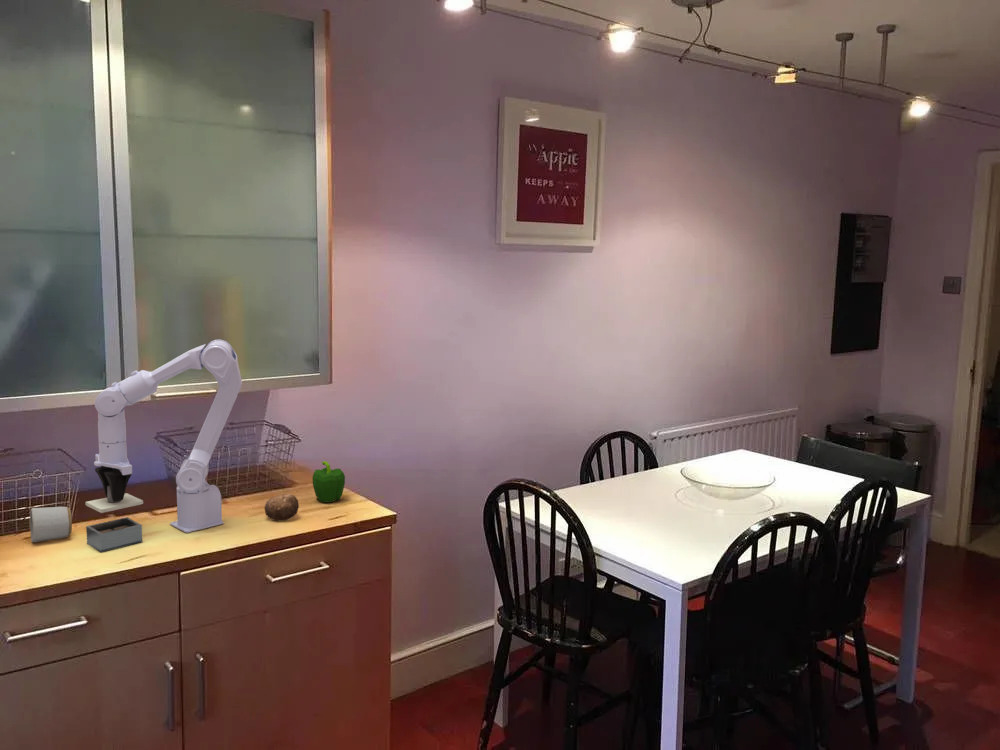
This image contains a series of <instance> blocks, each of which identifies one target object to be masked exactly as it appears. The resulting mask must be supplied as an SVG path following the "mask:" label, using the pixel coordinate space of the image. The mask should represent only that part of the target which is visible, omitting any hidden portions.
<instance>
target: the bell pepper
mask: <svg viewBox="0 0 1000 750" xmlns="http://www.w3.org/2000/svg"><path fill="white" fill-rule="evenodd" d="M321 464H322V466H325V467H322V468H321V469H314V473H313V475H312V487H313V491H314V494H315V496H316V498H317V500H318V501H319V502H321V503H331V502H334V501H338V500H340V499H341V498H342V497H343V492H344V490H345V489H344V488H345V483H346V476H345V473H344V471H342V469H341V468H335V469H331V465H330V463H329V462H328V461H322V462H321Z"/></svg>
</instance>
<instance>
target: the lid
mask: <svg viewBox="0 0 1000 750" xmlns="http://www.w3.org/2000/svg"><path fill="white" fill-rule="evenodd" d="M107 496H108V498H107V497H103V498H99V499H93V500H89V501H85V506H86V507H88V508H90V509H93V510H94V511H96V512H99V513H101V514H103V513H108V512H109V513H110V512H112V511H116V510H122V509H126V508H130V507H135V506H140V505H143V504H144V499H141V498H139V497H136V496H134V495H131V494H130V493H126V492H125V494H124V498H123V500H120V501H115V502H114V501H113V500H112V496H111V490H110V485H109V486H107Z"/></svg>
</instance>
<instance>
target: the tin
mask: <svg viewBox="0 0 1000 750" xmlns="http://www.w3.org/2000/svg"><path fill="white" fill-rule="evenodd" d="M85 527H86V528H85V529H86V531H85V532H86V544H87V545H88V546H89V547H91V548H93V549H94V550H96V551H98V552H99V553H104V552H109V551H113V550H115V549H116V550H117V549H121V548H125V547H128V546H133V545H137V544H141V543H143V525H142V524H141V523H139V522H137V521H135V520H134V519H132V518H129V517H128V516H127V517H123V518H118V519H114V520H110V521H109V520H108V521H104V522H100V523H95V524H90V525H86V526H85Z"/></svg>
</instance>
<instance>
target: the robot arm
mask: <svg viewBox="0 0 1000 750" xmlns="http://www.w3.org/2000/svg"><path fill="white" fill-rule="evenodd" d="M205 346H206V347H205ZM204 367H205V369H206V370H207V371H208V372H209V373H210V374H212V375H213V377H214V379H215V381H216V382H217V385H218V386H219V388H218V390H217V392H216V394H215V397H214V400H213V401H212V404H211V406H210V408H209V410H208V413H207V416H206V418H205V419H204V422H203V425H202V427H201V429H200V431H199V434H198V436H197V439H196V441H195V443H194V446H193V448H192V450H191V452H190V455H189V456H188V457H187V458H185V459H184V460H183V462H182V463H181V465H180V469H179V470H178V471H177V473H176V476H175V483H176V505H177V506H176V512H177V513H176V515H177V516H176V517H177V518H176V519H177V520H175V521H171V522H169V525H170V526H172V527H174V528H176V529H177V530H180V531H182V532H183V533H185V534H188V533H191V532H196V531H199V530H203V529H208V528H212V527H215V526H219V525H223V524H224V521H223V516H222V515H223V514H222V513H223V511H222V508H223V507H222V494H221V492H220V489H219V488H218V486H217V485H215V484H209V483H208V482H207V480H206V478H207V476H208V475H209V471H210V468H209V462H210V460H211V458H212V455H213V453H214V451H215V448H216V447H217V444H218V441H219V439H220V437H221V434H222V432H223V429H224V427H225V425H226V423H227V421H228V418H229V416H230V414H231V412H232V409H233V406H234V405H235V402H236V400H237V397H238V396H239V392H240V391H241V389H242V386H243V385H242V384H243V381H242V375H241V371H240V365H239V360H238V355H237V353H236V351H235V350H234V348H233V346H232V345H231V344H230V343H229V342H228V341H226V340H223V339H214V340H212V341H210V342H209V343H208V344H207V343H204V344H201V345H199V346H197V347H194V348H192V349H190V350H187V351H186V352H184V353H182V354H181V355H179V356H177V357H175V358H173V359H171V360H170V361H168V362H166V363H165V364H163V365H161V366H160V367H157V368H156V369H154V370H152V371H150V370H144V369H141V370H140V371H138V370H134V371H131V372H130V376H129V377H127V378H125V379H123V380H120V381H119V382H117V381H115V382H112V384H111V386H110V387H107V388H104V390H102V391H101V392H100V393H99V394H98V395H97V396H96V397H95V399H94V407H95V410H96V411H97V419H98V421H97V435H98V438H97V439H98V453H96V454H95V455H94V456H95V461H93V465H94V466H96V467H95V468H94V471H95V473H96V474H97V476H98V477H99V479H100V482H101V484H102V488H103V491H104V495H105V498H108V496H107V486H109V485H110V490H111V496H112V500H113V501H114V502H115V501H120V500H123V498H124V494H126V490H127V489H126V488H127V485H128V482H129V480H130V478H132V477H131V476H132V475H133V465H132V464H130V463H131V462H130V461H129V458H128V448H127V447H128V446H127V422H126V418H125V417H126V414H125V413H126V412H125V411H126V410H125V408H126V407H127V406H132V405H134V404H136V403H138V402H140V401H142V400H143V399H145V398H148V397H149V396H151V395H154V394H155V393H156V392H157V390H158V386H159V384H161V383H163V382H166V381H167V380H168V379H171V378H173V377H175V376H177V375H179V374H181V373H184V372H185V371H188V370H189V369H192V370H203V368H204Z"/></svg>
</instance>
